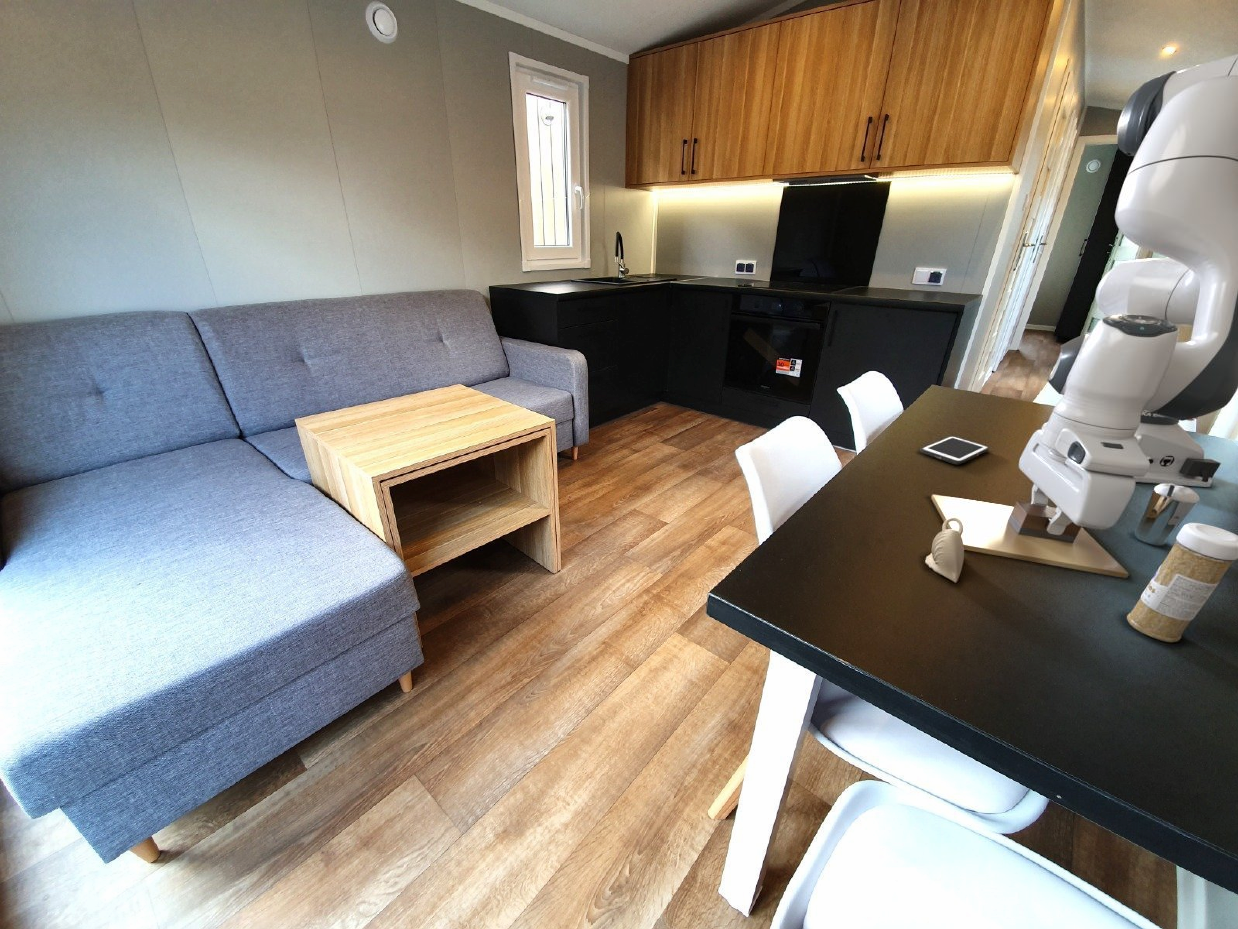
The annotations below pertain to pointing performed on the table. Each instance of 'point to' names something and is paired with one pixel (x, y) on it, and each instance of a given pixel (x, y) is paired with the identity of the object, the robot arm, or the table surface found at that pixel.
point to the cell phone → (954, 450)
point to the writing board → (1022, 538)
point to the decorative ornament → (947, 551)
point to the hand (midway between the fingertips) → (1043, 522)
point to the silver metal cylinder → (1165, 512)
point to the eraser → (1039, 522)
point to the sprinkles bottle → (1184, 581)
